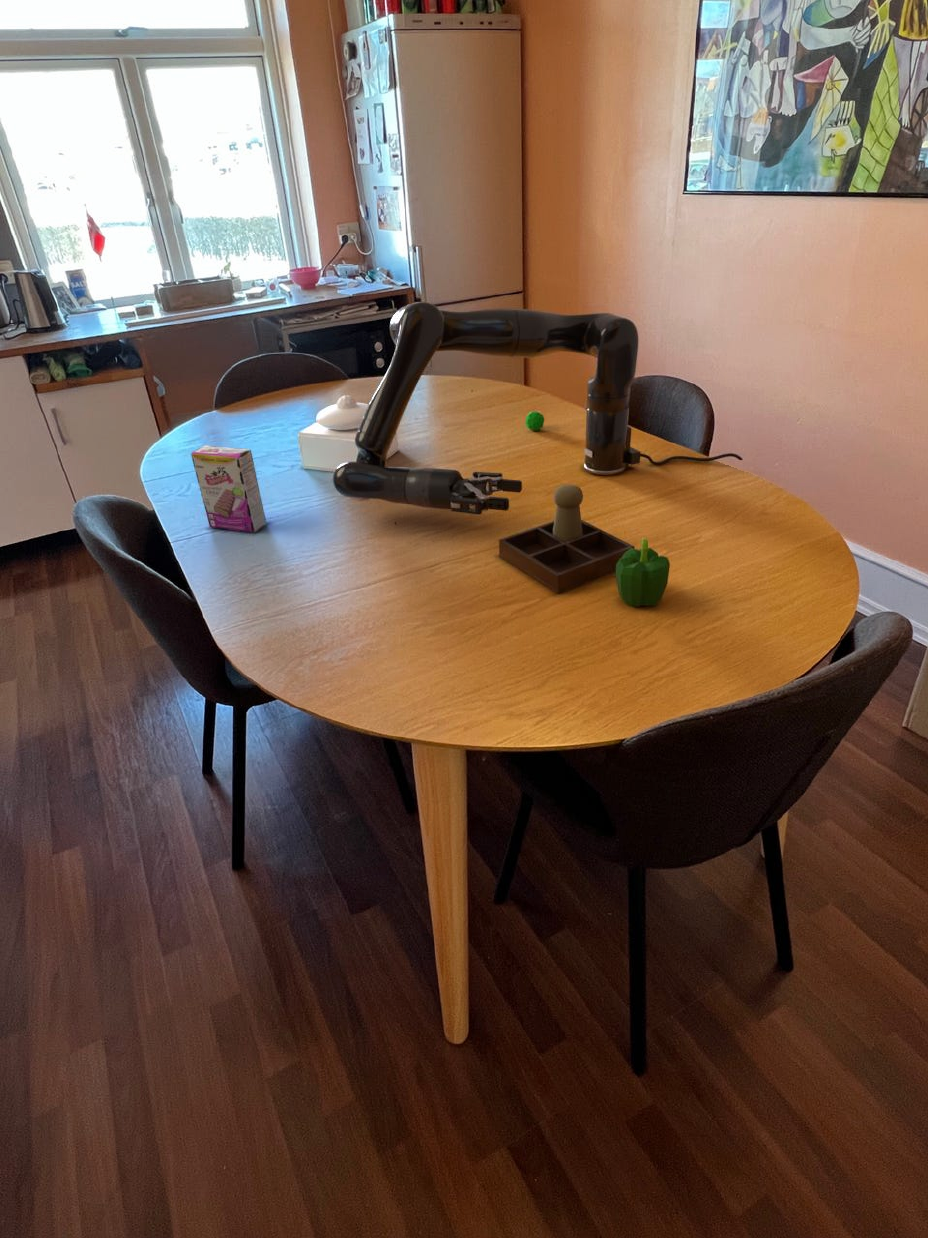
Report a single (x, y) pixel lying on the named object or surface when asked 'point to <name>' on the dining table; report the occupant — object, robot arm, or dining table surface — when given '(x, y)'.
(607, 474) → the robot arm
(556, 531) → the pawn
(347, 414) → the butter dish
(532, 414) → the green pom-pom ball
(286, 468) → the dining table surface
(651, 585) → the bell pepper
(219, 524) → the candy bar box
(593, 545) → the compartment tray
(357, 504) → the dining table surface
